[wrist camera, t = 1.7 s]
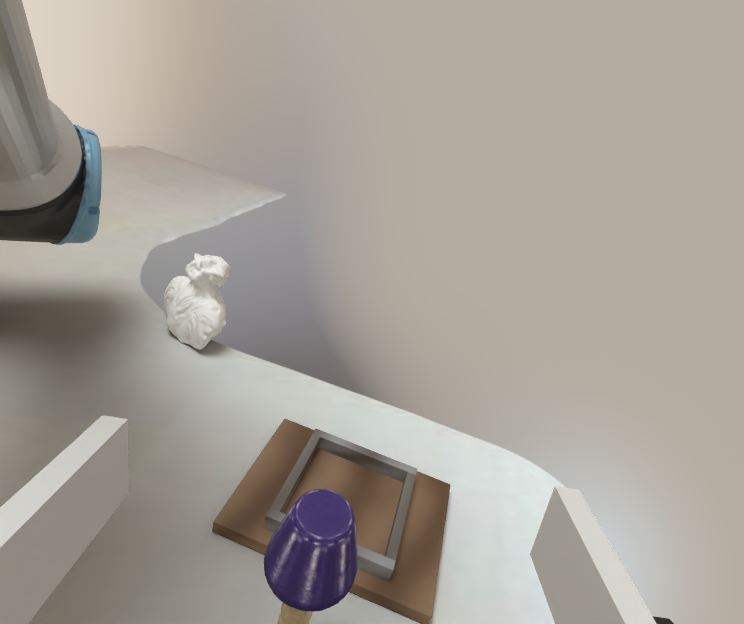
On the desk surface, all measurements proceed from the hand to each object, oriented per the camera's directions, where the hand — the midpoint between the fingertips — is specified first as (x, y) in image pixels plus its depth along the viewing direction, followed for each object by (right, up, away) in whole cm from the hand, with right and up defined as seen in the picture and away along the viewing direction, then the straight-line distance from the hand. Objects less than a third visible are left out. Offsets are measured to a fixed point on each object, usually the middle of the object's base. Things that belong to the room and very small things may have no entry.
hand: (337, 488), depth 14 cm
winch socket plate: (-2, -12, +26) cm, 29 cm away
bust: (-22, +3, +44) cm, 49 cm away
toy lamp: (-5, -18, +15) cm, 24 cm away
